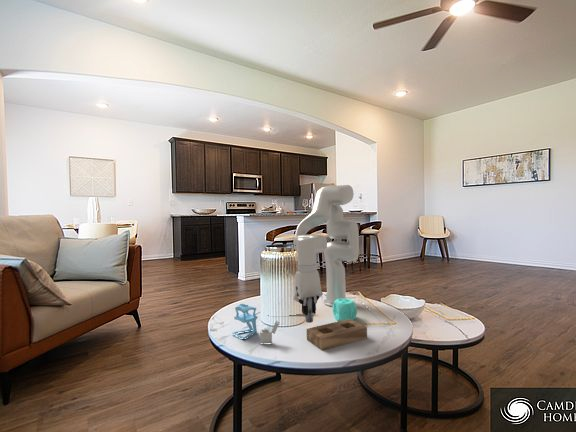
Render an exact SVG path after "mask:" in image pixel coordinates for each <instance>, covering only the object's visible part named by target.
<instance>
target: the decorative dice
mask: <svg viewBox="0 0 576 432" xmlns="http://www.w3.org/2000/svg"><path fill="white" fill-rule="evenodd" d="M332 313H333V316H334V319H335V320H336V322H338V321H343V320H347V319H351V320H353V321H355V319H356V317H357V315H358V311H357V305H356V302H355V301H354V300H353V299H351V298H341V299H337V300H335V301H334V303H333V306H332Z"/></svg>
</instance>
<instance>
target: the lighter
mask: <svg viewBox="0 0 576 432" xmlns="http://www.w3.org/2000/svg"><path fill="white" fill-rule="evenodd" d="M279 325H280V321H278V320H275V323H274V325H273V327H272V329H271V330H270V329H269V328H268V327H267V328H266V327H265V328H262V330H260V332H259V342H260V343H272V344H273V335H274V334H276V331H277V329H278V328H279Z"/></svg>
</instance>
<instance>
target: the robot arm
mask: <svg viewBox="0 0 576 432" xmlns="http://www.w3.org/2000/svg"><path fill="white" fill-rule="evenodd" d="M353 189H354V188H353V187H352V186H351V185H349V184H341V185H326V186H322V187H321V188H319V189H318V190H317V191H316V194H315V197H314V200H313V203H312V204H313V205H312V208H311V211H310V214H308V215H307V216H306V217H305V218H303V220H302V221H301V222H300V223H299V224H298V225H297V227H296V230H295V233H294V237H293V244H294V245H293V248H294V250H295V251H296V253H297V256H296V257H297V258H296V259H297V271H296V272H295V276H294V285H293V286H294V295H293V300H294V301H295V302H298V303H299V305H300V304H302V310H301V314H302V315H304V316H305V315H306V316H307V315H308V307H307V305H306V298H308V297H312V306H313V315H315V314H316V311H317V303H318V300H319V299H320V298H321V297H322V296H323V295H324V297H326V299H324V300H323V303H324V305H326V306H328V307H333V303H334V301H335V300H337V299H341V298H346V297H347V294H346V293H347V291H346V289H347V288H346V268H345V266H344V265H343V263H342V262H346V261H347V262H354V261H355V262H356V260H358V258H359V255H360V245H359V244H360V242H359V238H360V237H359V236H360V235H359V234H360V233H359V232H360V231H359V225H358V223H357V221H356V220H352V219H347V220H346V219H344V210H343V208H342V206H344V205H348V204H349V203H351V202H352V200H353V199H354V190H353ZM323 224H326V233H327V234H326V235H327V237H328V238H330V239H334V240H347V241H328V240H327V237H326V236H324V235H323V234H307V233H308V232H309V231H310V230H312V229H314V228H316V227H319V226H320V225H323ZM295 245H296V246H295ZM321 253H323V254H324V259H325V270H326V271H325V272H326V273H325V274H326V292H325V293H323V291H322V287H321V285H322V284H321V278H320V273H319V270H318V268H319V267H320V264H319V263H317V254H321Z"/></svg>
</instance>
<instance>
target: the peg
mask: <svg viewBox="0 0 576 432" xmlns="http://www.w3.org/2000/svg"><path fill="white" fill-rule="evenodd" d="M306 305H307V307H308V315H307V316H306V315H304V316H305V323H309V324H310V323H313V322H314V314H313V306H312V297H308V298H306Z"/></svg>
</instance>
